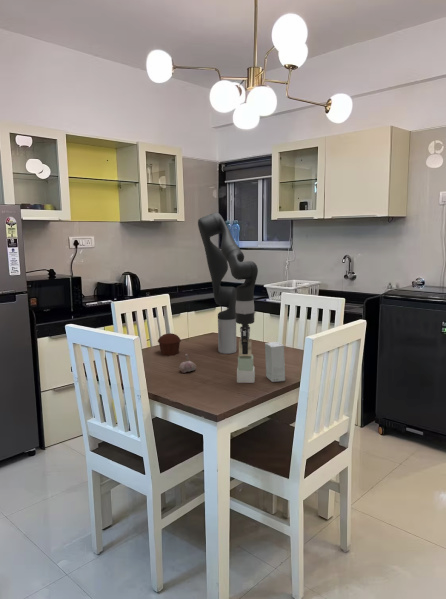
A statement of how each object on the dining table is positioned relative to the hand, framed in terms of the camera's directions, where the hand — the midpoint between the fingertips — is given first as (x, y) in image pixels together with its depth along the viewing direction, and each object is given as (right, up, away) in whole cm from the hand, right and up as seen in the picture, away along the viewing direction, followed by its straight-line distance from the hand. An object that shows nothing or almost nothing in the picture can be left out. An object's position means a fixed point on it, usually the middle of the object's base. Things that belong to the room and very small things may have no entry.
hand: (245, 352), depth 185 cm
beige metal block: (0, -1, 0) cm, 1 cm away
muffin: (-36, -6, +45) cm, 58 cm away
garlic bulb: (-25, -10, +15) cm, 31 cm away
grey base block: (0, -12, +2) cm, 12 cm away
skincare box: (+12, -12, +3) cm, 17 cm away
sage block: (0, -7, +1) cm, 7 cm away
